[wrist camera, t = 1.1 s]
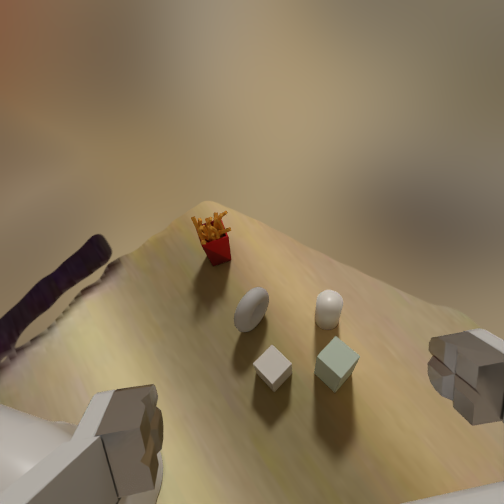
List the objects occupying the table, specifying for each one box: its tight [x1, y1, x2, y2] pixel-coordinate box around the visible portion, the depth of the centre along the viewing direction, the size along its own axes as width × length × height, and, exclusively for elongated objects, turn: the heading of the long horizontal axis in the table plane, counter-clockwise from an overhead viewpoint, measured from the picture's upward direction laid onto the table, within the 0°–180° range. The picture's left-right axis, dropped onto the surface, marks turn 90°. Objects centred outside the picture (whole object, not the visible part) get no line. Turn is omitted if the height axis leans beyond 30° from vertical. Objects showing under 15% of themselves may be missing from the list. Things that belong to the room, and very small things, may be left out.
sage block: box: [314, 336, 360, 393], centre depth 56 cm, size 5×5×10 cm
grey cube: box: [253, 345, 292, 392], centre depth 59 cm, size 5×5×6 cm
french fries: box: [191, 211, 231, 266], centre depth 74 cm, size 9×8×15 cm
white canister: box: [315, 290, 343, 330], centre depth 64 cm, size 5×5×8 cm
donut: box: [234, 287, 269, 332], centre depth 65 cm, size 10×4×10 cm, turn 144°
